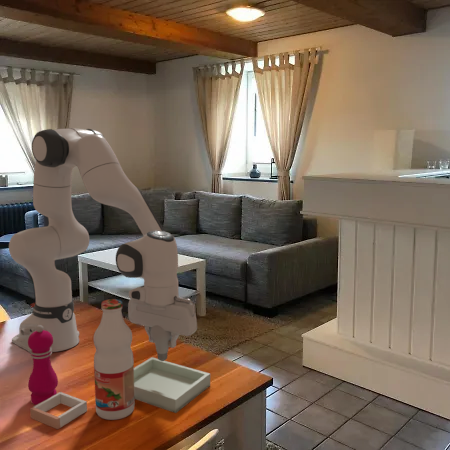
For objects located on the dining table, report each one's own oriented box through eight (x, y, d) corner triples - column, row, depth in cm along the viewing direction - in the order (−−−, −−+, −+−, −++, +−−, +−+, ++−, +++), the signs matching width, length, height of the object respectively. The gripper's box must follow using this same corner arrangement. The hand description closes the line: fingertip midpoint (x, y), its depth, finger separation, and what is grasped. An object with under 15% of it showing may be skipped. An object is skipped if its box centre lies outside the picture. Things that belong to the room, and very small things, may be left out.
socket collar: (30, 418, 119) (30, 408, 118) (60, 400, 127) (60, 391, 126) (57, 429, 114) (57, 419, 114) (87, 410, 122) (86, 401, 122)
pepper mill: (35, 391, 131) (31, 320, 128) (62, 392, 131) (59, 320, 128) (24, 406, 124) (19, 330, 121) (52, 406, 124) (48, 331, 120)
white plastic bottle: (141, 412, 122) (139, 303, 117) (106, 425, 116) (102, 311, 111) (123, 396, 129) (120, 293, 124) (89, 408, 123) (84, 300, 118)
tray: (114, 392, 131) (113, 379, 131) (152, 368, 145) (152, 357, 144) (175, 413, 121) (175, 399, 121) (210, 385, 135) (210, 373, 134)
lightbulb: (147, 364, 129) (146, 324, 127) (155, 355, 135) (154, 316, 133) (169, 367, 128) (169, 326, 126) (176, 357, 134) (176, 318, 132)
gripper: (201, 296, 126) (201, 348, 129) (139, 285, 136) (140, 332, 139) (187, 303, 121) (188, 357, 123) (123, 290, 131) (125, 340, 133)
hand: (162, 344), depth 131 cm, fingers closed on lightbulb, 5 cm apart
